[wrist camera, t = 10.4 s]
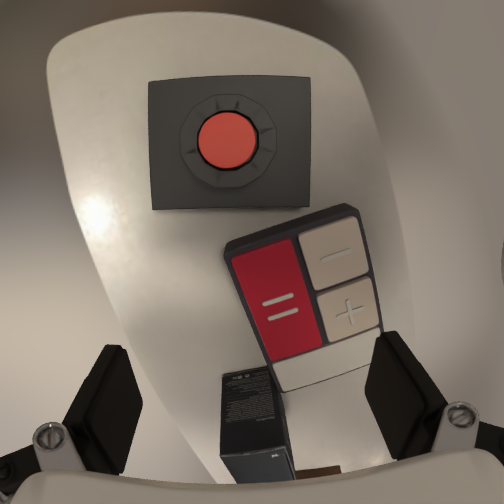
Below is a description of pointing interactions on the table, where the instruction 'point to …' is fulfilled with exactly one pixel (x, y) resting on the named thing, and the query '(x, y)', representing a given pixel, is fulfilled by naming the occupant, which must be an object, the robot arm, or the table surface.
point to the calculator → (309, 295)
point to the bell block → (258, 164)
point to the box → (254, 429)
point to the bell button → (227, 140)
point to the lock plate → (317, 472)
